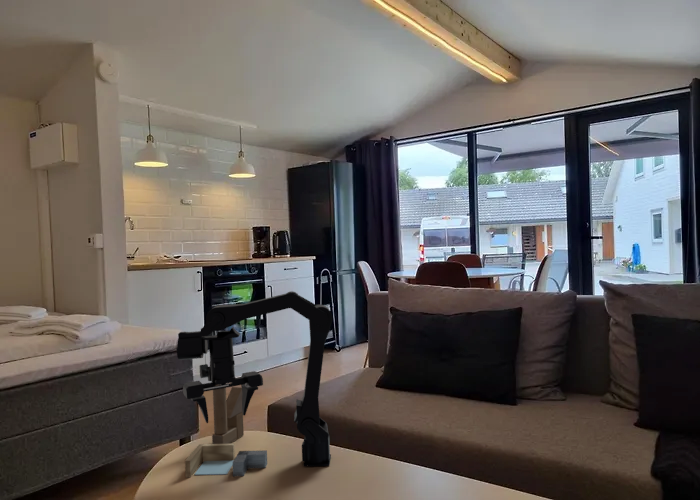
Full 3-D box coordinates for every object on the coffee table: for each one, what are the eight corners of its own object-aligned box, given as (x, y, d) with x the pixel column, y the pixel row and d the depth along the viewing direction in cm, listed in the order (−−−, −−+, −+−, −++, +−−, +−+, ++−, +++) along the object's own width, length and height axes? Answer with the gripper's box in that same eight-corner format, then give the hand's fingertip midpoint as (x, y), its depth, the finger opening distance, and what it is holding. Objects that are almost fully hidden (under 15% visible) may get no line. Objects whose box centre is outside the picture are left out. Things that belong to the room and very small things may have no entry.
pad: (235, 461, 133) (235, 460, 133) (226, 474, 125) (226, 473, 125) (204, 461, 134) (204, 461, 134) (194, 475, 126) (194, 474, 126)
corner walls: (234, 458, 135) (234, 443, 135) (223, 476, 124) (222, 459, 124) (199, 459, 135) (199, 444, 135) (185, 477, 124) (185, 460, 125)
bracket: (240, 464, 131) (239, 451, 131) (267, 464, 131) (266, 450, 131) (233, 476, 124) (232, 462, 124) (261, 476, 124) (261, 461, 124)
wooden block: (244, 435, 152) (242, 374, 152) (223, 449, 142) (220, 383, 142) (233, 434, 153) (231, 373, 154) (211, 447, 143) (209, 382, 143)
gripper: (249, 346, 140) (253, 404, 140) (177, 357, 132) (181, 418, 132) (261, 352, 130) (265, 414, 130) (185, 364, 122) (189, 430, 122)
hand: (225, 418), depth 129 cm, fingers open, 9 cm apart
